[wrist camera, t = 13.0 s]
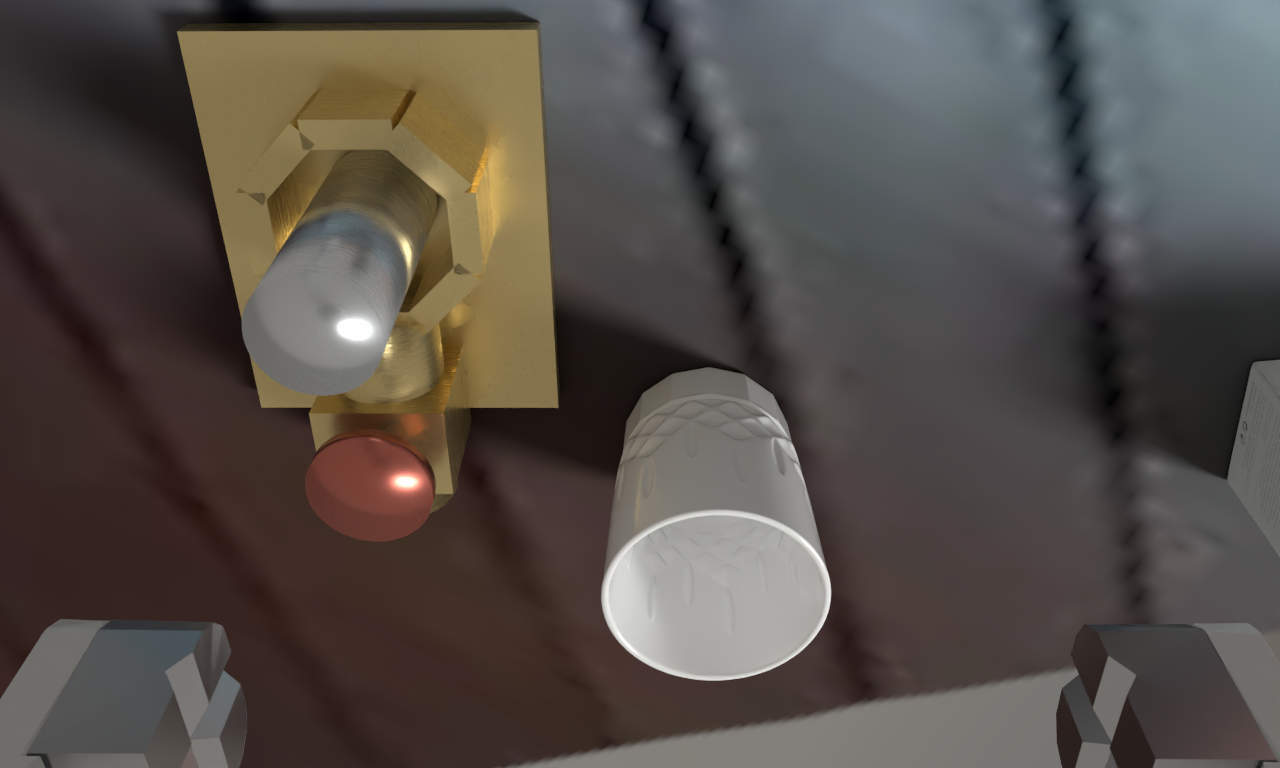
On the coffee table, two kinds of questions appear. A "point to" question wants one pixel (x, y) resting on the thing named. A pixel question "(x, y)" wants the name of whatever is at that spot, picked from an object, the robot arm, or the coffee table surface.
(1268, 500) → the skincare box
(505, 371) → the brass valve fitting
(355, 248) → the silver metal cylinder
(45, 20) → the coffee table surface
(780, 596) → the white cup
